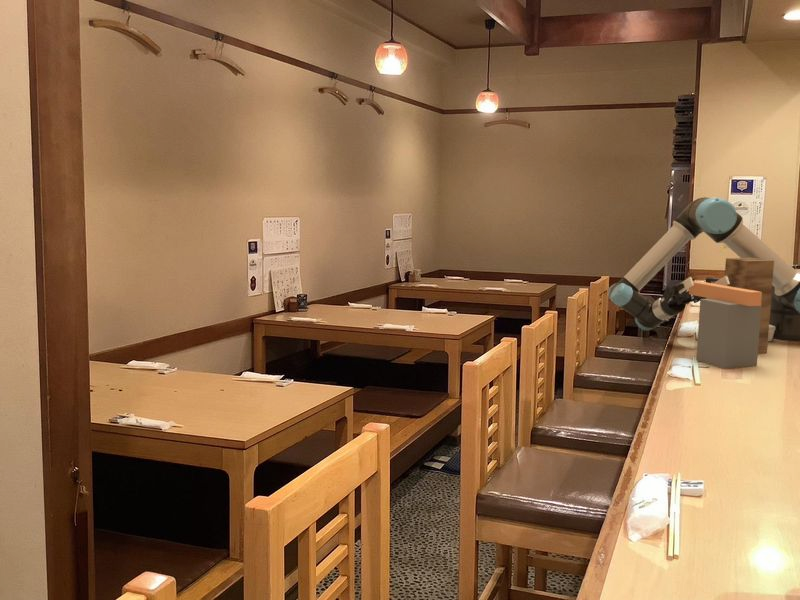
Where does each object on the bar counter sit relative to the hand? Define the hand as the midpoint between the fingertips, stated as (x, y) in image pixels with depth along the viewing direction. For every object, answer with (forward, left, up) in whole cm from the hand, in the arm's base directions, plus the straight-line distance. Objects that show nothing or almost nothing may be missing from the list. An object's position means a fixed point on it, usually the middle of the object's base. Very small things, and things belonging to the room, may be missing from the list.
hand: (709, 280), depth 239 cm
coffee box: (-26, -82, -24) cm, 89 cm away
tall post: (-15, -11, -24) cm, 30 cm away
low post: (-4, +9, -24) cm, 26 cm away
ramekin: (-26, -32, -25) cm, 48 cm away
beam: (-3, +6, -5) cm, 8 cm away
